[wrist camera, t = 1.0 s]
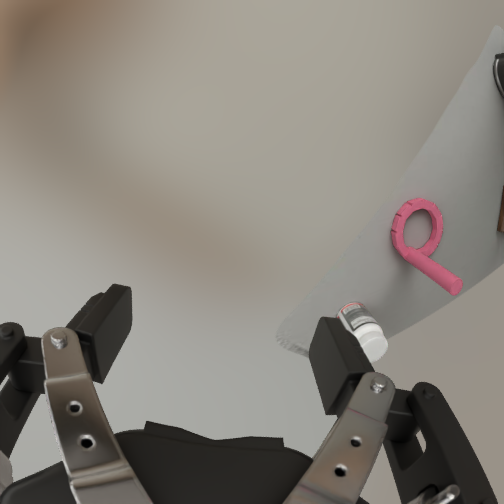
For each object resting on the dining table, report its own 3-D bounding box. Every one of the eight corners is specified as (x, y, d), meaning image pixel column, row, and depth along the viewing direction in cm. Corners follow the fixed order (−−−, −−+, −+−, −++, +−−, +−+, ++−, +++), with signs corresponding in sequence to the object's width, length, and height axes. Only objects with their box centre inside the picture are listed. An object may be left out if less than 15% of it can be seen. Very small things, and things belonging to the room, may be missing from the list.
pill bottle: (355, 333, 39) (376, 368, 31) (329, 325, 38) (348, 362, 30) (371, 306, 37) (397, 339, 29) (346, 297, 37) (369, 331, 29)
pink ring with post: (401, 191, 32) (456, 208, 22) (444, 207, 33) (498, 228, 22) (382, 254, 35) (428, 291, 24) (426, 264, 36) (473, 298, 25)
